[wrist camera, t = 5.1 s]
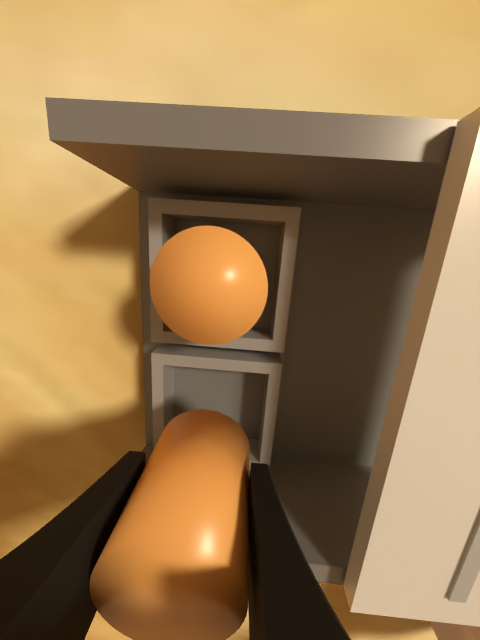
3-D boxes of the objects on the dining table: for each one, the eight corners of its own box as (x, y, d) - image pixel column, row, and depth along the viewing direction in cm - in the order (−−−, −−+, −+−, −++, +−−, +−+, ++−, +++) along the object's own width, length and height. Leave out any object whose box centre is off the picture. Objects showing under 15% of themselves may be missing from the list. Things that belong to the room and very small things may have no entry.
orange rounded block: (246, 488, 12) (242, 657, 7) (161, 480, 12) (95, 641, 7) (253, 413, 10) (254, 549, 6) (159, 405, 11) (82, 531, 6)
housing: (415, 471, 17) (515, 603, 10) (152, 446, 17) (93, 557, 11) (498, 197, 13) (752, 135, 6) (146, 175, 13) (45, 97, 7)
